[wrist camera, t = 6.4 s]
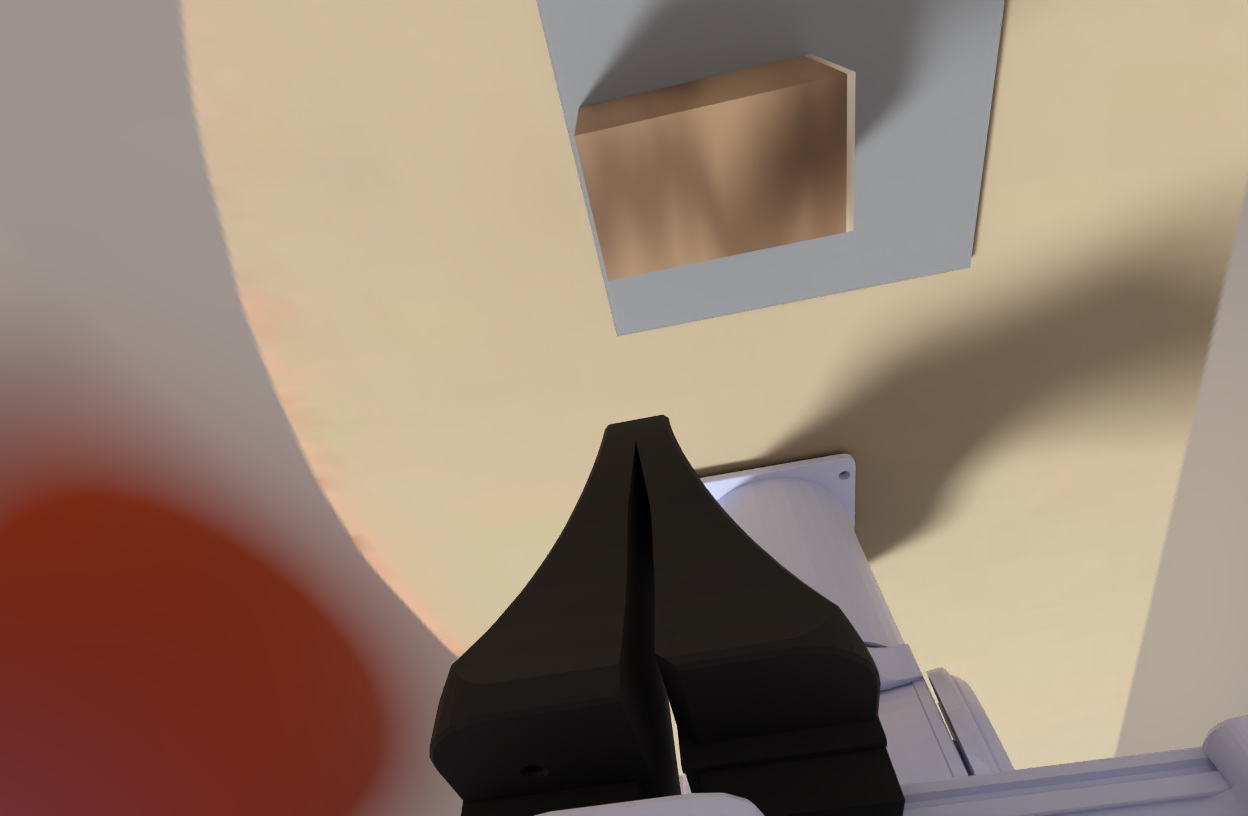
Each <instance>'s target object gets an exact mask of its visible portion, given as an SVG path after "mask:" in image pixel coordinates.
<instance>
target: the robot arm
mask: <svg viewBox="0 0 1248 816" xmlns="http://www.w3.org/2000/svg"><path fill="white" fill-rule="evenodd" d="M843 471H846V472H845V473H843V474H840V473H841V472H843ZM855 472H856V464H855V461H854V459H853V457H852V456H851V455H849V454H837V455H831V456H826V457H820V458H814V459H808V460H802V461H796V462H791V463H785V464H779V465H773V466H767V467H761V468H756V469H750V470H744V471H738V472H732V473H726V474H721V475H715V476H709V477H703V478H699V477H698V475H697V474H696V472H695V471H694V469H693V468H692V466H691V465H690V463H689V461H688V460H687V458H686V457H685V455H684V453H683V452H682V450H681V448H680V446H679V444H678V442H677V440H676V438H675V436H674V434H673V431H672V429H671V426H670V422H669V418H668V417H666V416H664V415H659V416H653V417H648V418H642V419H637V420H632V421H626V422H621V423H615V424H610V425H608V426H607V428H606V429H605V432H604V436H603V439H602V443H601V446H600V449H599V452H598V455H597V458H596V460H595V463H594V466H593V468H592V471H591V473H590V475H589V478H588V480H587V483H586V485H585V487H584V490H583V492H582V494H581V496H580V498H579V500H578V502H577V504H576V506H575V508H574V510H573V512H572V514H571V516H570V518H569V520H568V522H567V524H566V526H565V527H564V529H563V531H562V533H561V535H560V536H559V538H558V540H557V541H556V543H555V544H554V546H553V548H552V549H551V551H550V552H549V554H548V555H547V557H546V558H545V560H544V561H543V563H542V564H541V566H540V567H539V568H538V570H537V571H536V573H535V574H534V576H533V577H532V578H531V580H530V581H529V582H528V584H527V585H526V586H525V588H524V589H523V590H522V591H521V593H520V594H519V595H518V596H517V597H516V599H515V600H514V601H513V602H512V603H511V604H510V606H509V607H508V608H507V609H506V610H505V612H504V613H503V614H502V615H501V616H500V617H499V619H498V620H497V621H496V622H495V623H494V624H493V625H492V626H491V627H490V629H489V630H488V631H487V632H486V633H485V634H484V635H483V636H482V637H481V638H480V639H479V640H477V641H476V642H475V643H474V644H473V645H472V646H471V647H470V648H469V649H468V650H467V651H466V652H465V653H464V654H463V655H462V656H461V657H460V658H459V659H458V660H457V661H456V662H454V663H453V664H452V666H451V668H450V671H449V674H448V677H447V680H446V683H445V686H444V688H443V692H442V695H441V698H440V701H439V705H438V710H437V714H436V719H435V724H434V729H433V733H432V738H431V743H430V759H431V761H432V762H433V764H434V766H435V768H436V769H437V770H438V772H439V773H440V774H441V775H442V776H443V777H444V778H445V780H446V781H447V782H448V783H449V784H450V786H451V787H452V788H453V789H454V790H455V791H456V792H457V794H458V795H459V796H460V797H461V799H462V800H463V806H462V813H461V816H1248V715H1245V716H1240V717H1236V718H1231V719H1228V720H1225V721H1223V722H1221V723H1219V724H1217V725H1216V726H1214V727H1213V728H1212V729H1211V730H1210V731H1209V732H1208V734H1207V735H1206V737H1205V740H1204V742H1203V745H1202V747H1194V748H1187V749H1179V750H1171V751H1163V752H1155V753H1147V754H1139V755H1131V756H1123V757H1116V758H1107V759H1099V760H1091V761H1084V762H1076V763H1068V764H1060V765H1052V766H1044V767H1036V768H1028V769H1020V770H1014V768H1013V766H1012V764H1011V762H1010V760H1009V758H1008V756H1007V754H1006V752H1005V750H1004V748H1003V746H1002V744H1001V742H1000V740H999V738H998V736H997V734H996V732H995V730H994V728H993V726H992V724H991V722H990V721H989V719H988V717H987V715H986V713H985V711H984V709H983V708H982V706H981V704H980V702H979V700H978V699H977V697H976V695H975V694H974V692H973V690H972V689H971V687H970V686H969V684H968V683H967V682H966V681H964V680H962V679H960V678H958V677H956V676H954V675H950V674H949V673H948V672H947V671H946V669H944V668H936V669H933V670H930V671H927V675H928V677H929V680H930V682H931V685H932V687H933V689H934V692H935V694H936V696H937V699H938V701H939V703H938V704H939V707H940V709H941V712H942V714H943V717H944V719H945V721H946V723H947V726H948V728H949V730H950V733H951V735H952V737H953V739H954V740H952V738H951V736H950V734H949V732H948V729H947V727H946V725H945V723H944V721H943V718H942V716H941V714H940V712H939V710H938V708H937V705H936V703H935V701H934V699H933V697H932V695H931V693H930V690H929V688H928V686H927V684H926V682H925V680H924V678H923V675H922V673H921V671H920V669H919V667H918V664H917V662H916V660H915V658H914V656H913V653H912V651H911V649H910V647H909V645H908V644H905V643H904V641H903V639H902V636H901V634H900V632H899V630H898V628H897V625H896V623H895V621H894V619H893V616H892V614H891V612H890V610H889V608H888V605H887V603H886V601H885V599H884V596H883V594H882V592H881V590H880V588H879V585H878V583H877V581H876V579H875V576H874V574H873V572H872V570H871V568H870V565H869V563H868V561H867V559H866V556H865V554H864V552H863V550H862V548H861V545H860V543H859V541H858V539H857V536H856V534H855V532H854V525H855ZM668 698H669V699H668ZM669 702H670V705H671V708H672V711H673V714H674V718H675V721H676V724H677V729H678V739H679V748H680V758H681V766H682V771H683V773H684V780H683V795H681V790H680V782H679V775H678V768H677V760H676V753H675V745H674V738H673V730H672V723H671V715H670V707H669Z"/></svg>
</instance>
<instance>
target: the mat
mask: <svg viewBox="0 0 1248 816" xmlns="http://www.w3.org/2000/svg"><path fill="white" fill-rule="evenodd" d="M1004 2H1005V0H537V4H538V9H539V13H540V17H541V21H542V25H543V29H544V34H545V38H546V42H547V46H548V50H549V54H550V59H551V63H552V67H553V71H554V75H555V79H556V84H557V88H558V92H559V96H560V100H561V104H562V109H563V113H564V117H565V121H566V125H567V129H568V133H569V138H570V142H571V146H572V150H573V154H574V158H575V163H576V167H577V171H578V175H579V179H580V183H581V188H582V192H583V196H584V200H585V204H586V208H587V213H588V217H589V221H590V225H591V229H592V233H593V238H594V242H595V246H596V250H597V254H598V258H599V263H600V267H601V271H602V275H603V279H604V283H605V288H606V292H607V296H608V300H609V304H610V308H611V312H612V317H613V321H614V325H615V329H616V333H617V336H622V335H627V334H632V333H638V332H643V331H648V330H653V329H658V328H663V327H668V326H673V325H678V324H684V323H689V322H694V321H699V320H704V319H709V318H714V317H719V316H725V315H730V314H735V313H740V312H745V311H750V310H755V309H760V308H765V307H771V306H776V305H781V304H786V303H791V302H796V301H801V300H806V299H812V298H817V297H822V296H827V295H832V294H837V293H842V292H847V291H852V290H858V289H863V288H868V287H873V286H878V285H883V284H888V283H893V282H898V281H904V280H909V279H914V278H919V277H924V276H929V275H934V274H939V273H945V272H950V271H955V270H960V269H965V268H970V264H971V257H972V249H973V241H974V234H975V226H976V218H977V210H978V203H979V195H980V187H981V180H982V172H983V164H984V156H985V149H986V141H987V133H988V126H989V118H990V110H991V103H992V95H993V87H994V79H995V72H996V64H997V56H998V49H999V41H1000V33H1001V25H1002V18H1003V10H1004ZM807 54H812V55H815V56H817V57H820V58H822V59H825V60H827V61H830V62H832V63H834V64H837V65H839V66H842V67H844V68H847V69H849V70H852V71H854V72H856V80H855V159H854V231H850V232H845V233H840V234H836V235H831V236H826V237H821V238H816V239H811V240H806V241H801V242H796V243H792V244H787V245H782V246H777V247H772V248H767V249H762V250H757V251H752V252H747V253H743V254H738V255H733V256H728V257H723V258H718V259H713V260H708V261H703V262H699V263H694V264H689V265H684V266H679V267H674V268H669V269H664V270H659V271H654V272H650V273H645V274H640V275H635V276H630V277H625V278H620V279H615V280H610V281H608V278H607V273H606V269H605V265H604V261H603V256H602V252H601V248H600V244H599V239H598V235H597V231H596V227H595V223H594V218H593V214H592V210H591V206H590V201H589V197H588V193H587V189H586V184H585V180H584V176H583V172H582V167H581V163H580V159H579V155H578V150H577V146H576V142H575V138H574V134H575V128H576V122H577V116H578V110H579V107H583V106H587V105H591V104H596V103H600V102H604V101H608V100H613V99H617V98H621V97H626V96H630V95H634V94H639V93H643V92H647V91H652V90H656V89H660V88H664V87H669V86H673V85H677V84H682V83H686V82H690V81H695V80H699V79H703V78H708V77H712V76H716V75H720V74H725V73H729V72H733V71H738V70H742V69H746V68H751V67H755V66H759V65H764V64H768V63H772V62H776V61H781V60H785V59H789V58H794V57H798V56H802V55H807Z"/></svg>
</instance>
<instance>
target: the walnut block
mask: <svg viewBox="0 0 1248 816" xmlns="http://www.w3.org/2000/svg"><path fill="white" fill-rule="evenodd" d="M855 80H856V72H854V71H852V70H849V69H847V68H844V67H842V66H839V65H837V64H834V63H832V62H830V61H827V60H825V59H822V58H820V57H817V56H815V55H812V54H807V55H802V56H798V57H794V58H789V59H785V60H781V61H776V62H772V63H768V64H764V65H759V66H755V67H751V68H746V69H742V70H738V71H733V72H729V73H725V74H720V75H716V76H712V77H708V78H703V79H699V80H695V81H690V82H686V83H682V84H677V85H673V86H669V87H664V88H660V89H656V90H652V91H647V92H643V93H639V94H634V95H630V96H626V97H621V98H617V99H613V100H608V101H604V102H600V103H596V104H591V105H587V106H583V107H579V110H578V116H577V122H576V128H575V134H574V138H575V142H576V146H577V150H578V155H579V159H580V163H581V167H582V172H583V176H584V180H585V184H586V189H587V193H588V197H589V201H590V206H591V210H592V214H593V218H594V223H595V227H596V231H597V235H598V239H599V244H600V248H601V252H602V256H603V261H604V265H605V269H606V273H607V278H608V281H610V280H615V279H620V278H625V277H630V276H635V275H640V274H645V273H650V272H654V271H659V270H664V269H669V268H674V267H679V266H684V265H689V264H694V263H699V262H703V261H708V260H713V259H718V258H723V257H728V256H733V255H738V254H743V253H747V252H752V251H757V250H762V249H767V248H772V247H777V246H782V245H787V244H792V243H796V242H801V241H806V240H811V239H816V238H821V237H826V236H831V235H836V234H840V233H845V232H850V231H854V159H855Z"/></svg>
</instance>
